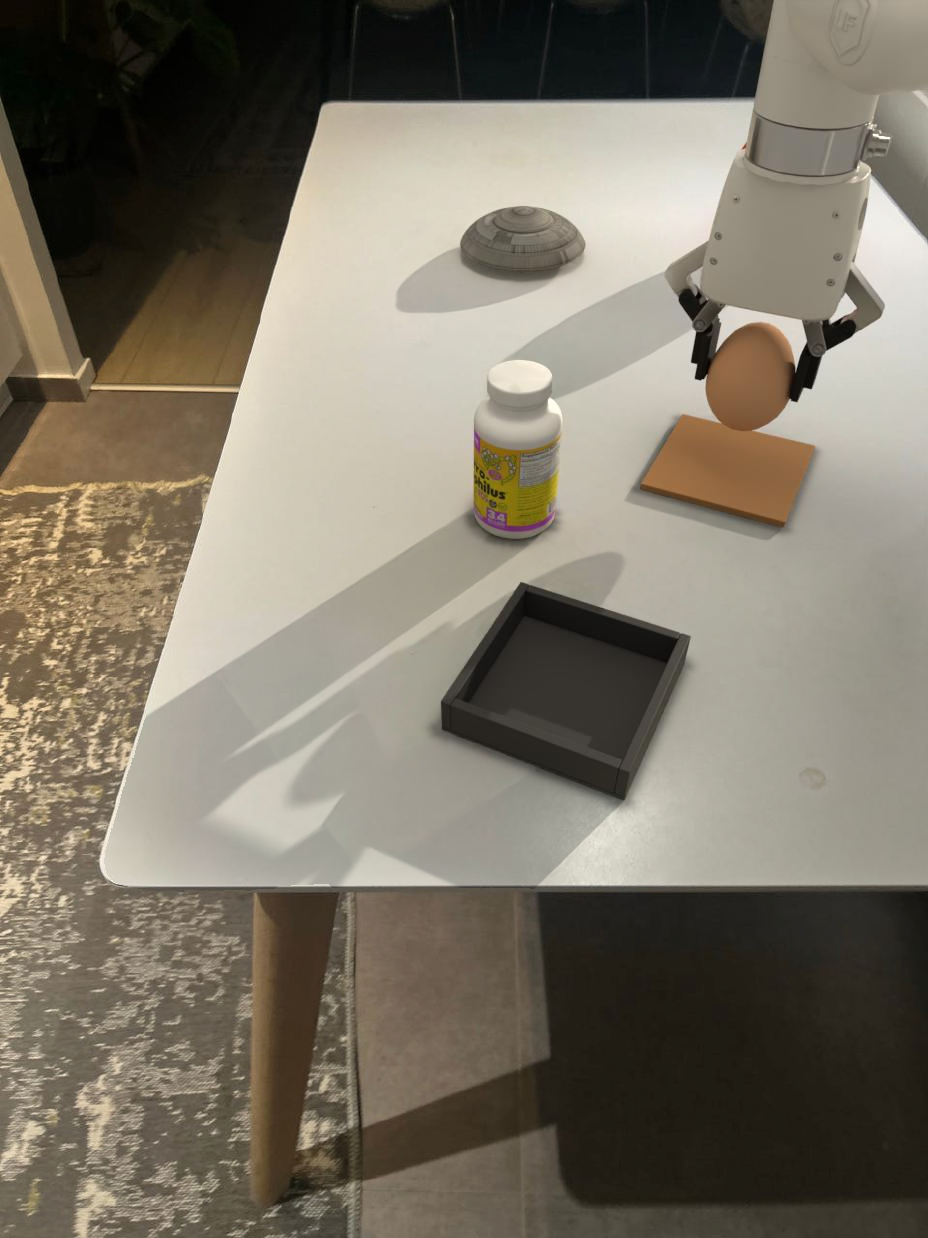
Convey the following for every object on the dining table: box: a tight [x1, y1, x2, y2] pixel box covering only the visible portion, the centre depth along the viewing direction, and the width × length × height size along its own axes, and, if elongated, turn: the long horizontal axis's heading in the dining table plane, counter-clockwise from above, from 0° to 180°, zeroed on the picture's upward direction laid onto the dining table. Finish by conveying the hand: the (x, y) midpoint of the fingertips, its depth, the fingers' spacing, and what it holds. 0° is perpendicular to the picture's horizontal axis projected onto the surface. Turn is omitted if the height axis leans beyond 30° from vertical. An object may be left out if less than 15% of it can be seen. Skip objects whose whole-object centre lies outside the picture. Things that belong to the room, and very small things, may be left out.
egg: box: [704, 321, 797, 431], centre depth 73 cm, size 7×7×9 cm
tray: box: [440, 581, 692, 801], centre depth 60 cm, size 12×12×3 cm
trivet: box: [640, 413, 816, 528], centre depth 79 cm, size 12×12×1 cm
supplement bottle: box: [473, 359, 564, 540], centre depth 70 cm, size 7×7×13 cm
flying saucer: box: [459, 205, 586, 273], centre depth 109 cm, size 15×15×6 cm
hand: (749, 381), depth 73 cm, fingers closed on egg, 6 cm apart
